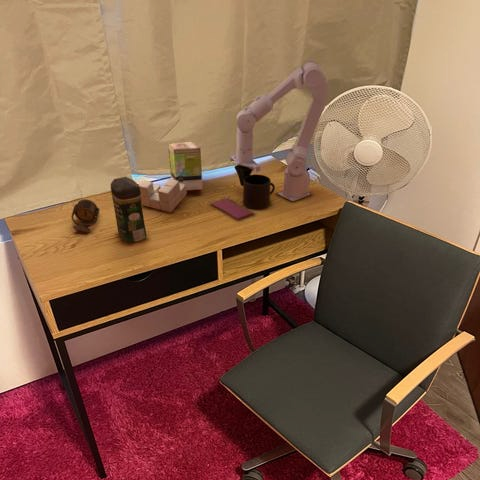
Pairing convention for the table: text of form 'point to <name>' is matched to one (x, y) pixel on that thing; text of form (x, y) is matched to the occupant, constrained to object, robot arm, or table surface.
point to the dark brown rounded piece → (85, 215)
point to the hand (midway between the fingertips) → (243, 185)
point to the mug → (257, 191)
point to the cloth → (232, 209)
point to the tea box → (186, 164)
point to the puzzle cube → (162, 194)
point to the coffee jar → (128, 209)
